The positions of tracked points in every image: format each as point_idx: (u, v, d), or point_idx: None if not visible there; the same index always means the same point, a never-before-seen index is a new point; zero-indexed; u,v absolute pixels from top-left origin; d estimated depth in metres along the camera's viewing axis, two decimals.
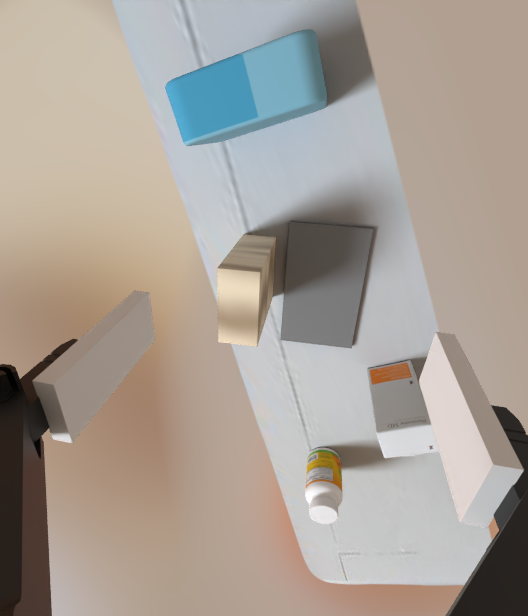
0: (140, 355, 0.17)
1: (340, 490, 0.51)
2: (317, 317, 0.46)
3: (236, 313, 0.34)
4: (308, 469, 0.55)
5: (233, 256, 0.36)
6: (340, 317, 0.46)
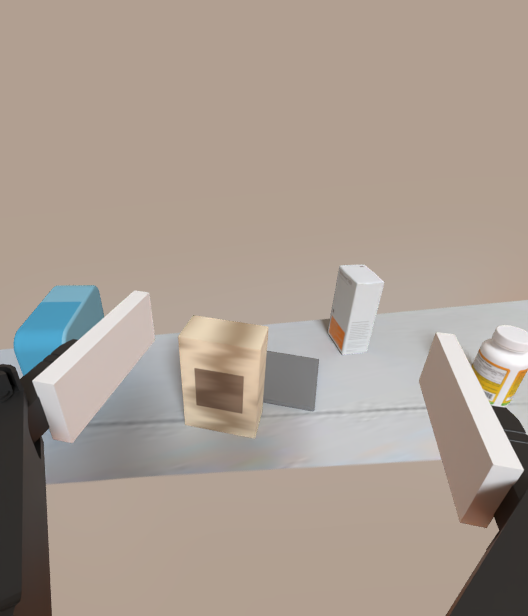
0: (140, 355, 0.17)
1: None
2: (285, 376, 0.47)
3: (228, 332, 0.35)
4: (494, 386, 0.43)
5: None
6: (286, 363, 0.49)
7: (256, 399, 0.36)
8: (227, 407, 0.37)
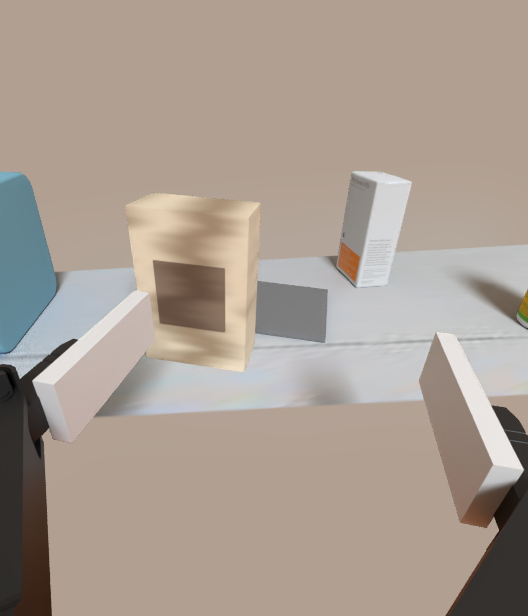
0: (140, 355, 0.17)
1: None
2: (285, 306, 0.36)
3: (202, 205, 0.23)
4: None
5: None
6: (286, 293, 0.38)
7: (244, 307, 0.25)
8: (203, 323, 0.26)
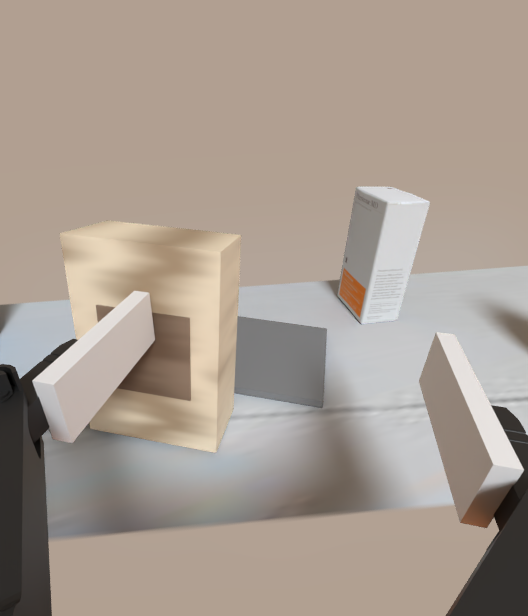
0: (140, 355, 0.17)
1: None
2: (274, 353, 0.29)
3: (164, 235, 0.18)
4: None
5: None
6: (276, 334, 0.32)
7: (216, 369, 0.18)
8: (162, 388, 0.20)
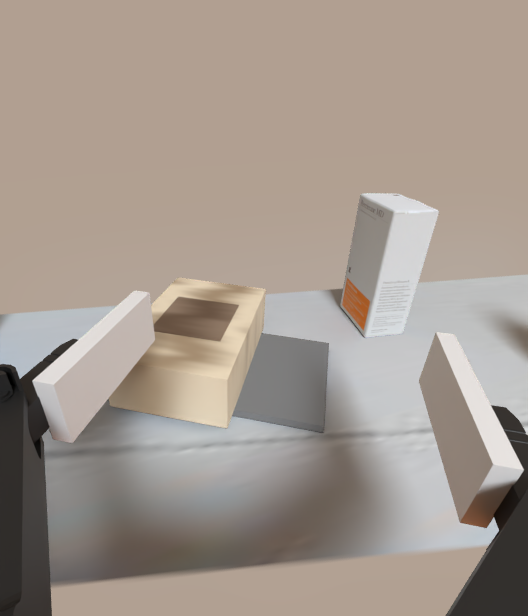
0: (140, 355, 0.17)
1: None
2: (273, 371, 0.27)
3: None
4: None
5: None
6: (275, 349, 0.30)
7: (248, 326, 0.25)
8: (198, 334, 0.24)
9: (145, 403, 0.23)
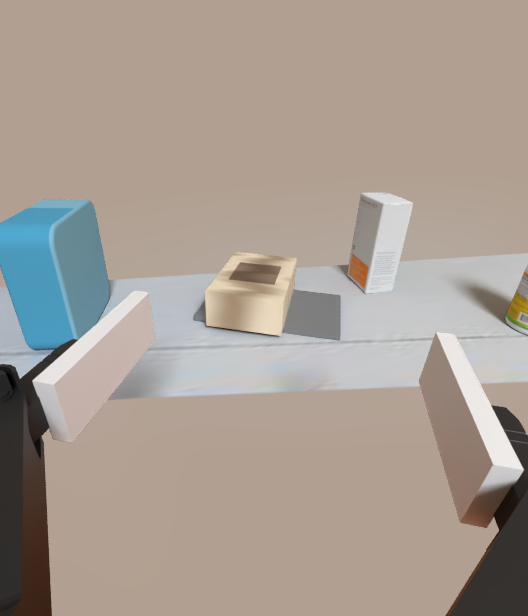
0: (140, 355, 0.17)
1: None
2: (304, 309, 0.42)
3: None
4: None
5: None
6: (304, 298, 0.44)
7: (289, 277, 0.39)
8: (260, 281, 0.38)
9: (230, 321, 0.37)
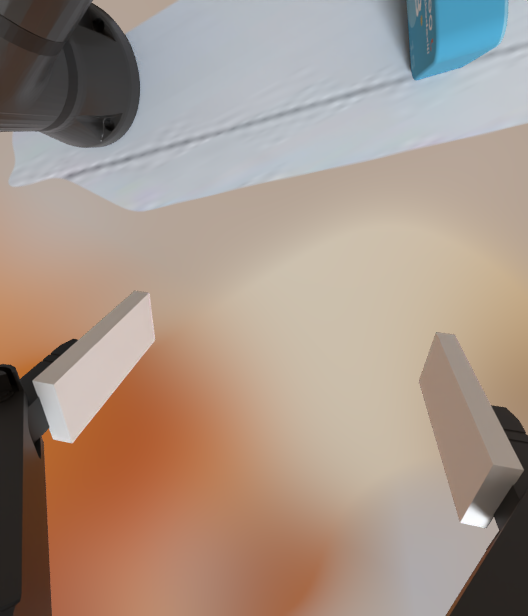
0: (140, 355, 0.17)
1: None
2: None
3: None
4: None
5: None
6: None
7: None
8: None
9: None
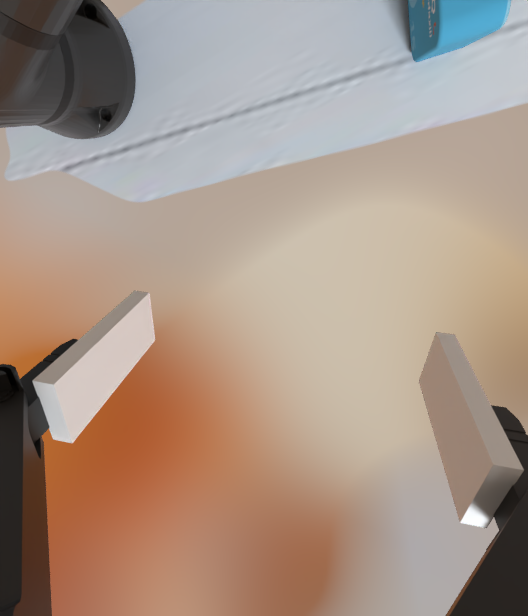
0: (140, 355, 0.17)
1: None
2: None
3: None
4: None
5: None
6: None
7: None
8: None
9: None
